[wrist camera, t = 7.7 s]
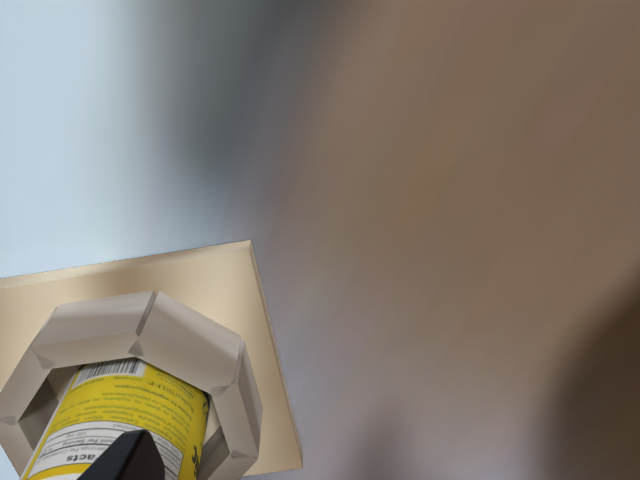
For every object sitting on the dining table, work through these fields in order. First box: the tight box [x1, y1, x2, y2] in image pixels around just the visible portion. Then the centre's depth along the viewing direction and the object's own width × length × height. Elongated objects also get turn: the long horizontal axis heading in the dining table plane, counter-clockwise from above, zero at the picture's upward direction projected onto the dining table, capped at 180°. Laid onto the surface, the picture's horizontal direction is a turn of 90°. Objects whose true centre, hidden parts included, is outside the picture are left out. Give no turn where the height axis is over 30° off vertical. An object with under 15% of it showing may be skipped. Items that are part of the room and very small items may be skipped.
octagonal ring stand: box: [0, 240, 303, 480], centre depth 22 cm, size 11×11×3 cm
